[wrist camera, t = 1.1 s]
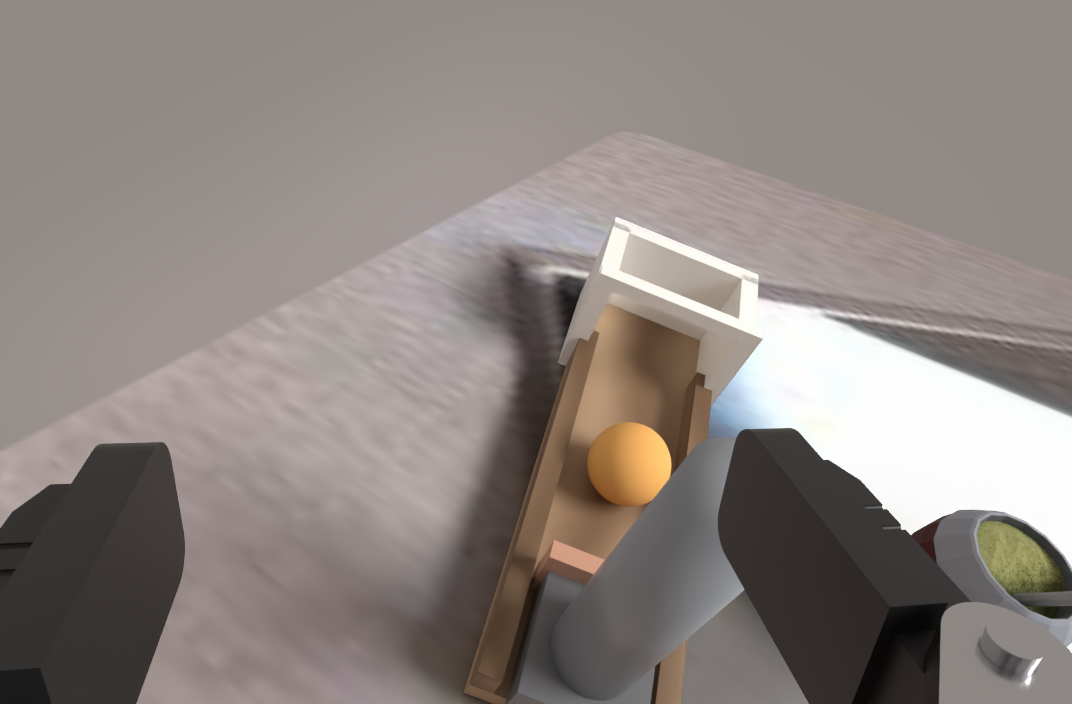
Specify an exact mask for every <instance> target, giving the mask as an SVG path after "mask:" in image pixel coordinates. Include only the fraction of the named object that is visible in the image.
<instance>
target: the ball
mask: <svg viewBox="0 0 1072 704" xmlns="http://www.w3.org/2000/svg"><path fill="white" fill-rule="evenodd" d="M587 468H588V473H589V477H590V480H591V482H592V484H593V486H594V487H595V489H596V490H597V491H598V492H599V494H601V495H602V496H603V497H604V498H605V499H607V500H608V501H610V502H612V503H614V504H617V505H621V506H628V507H631V506H639V505H643V504H646V503H648V502H650V501H652V500H653V499H654V497H655V496H656V495H657V494H658V492H659V491H660V490H661V489H662V487H663V486H664V485H665V484H666V482H667V481H668V480H669V478H670V473H671V457H670V453H669V450H668V447H667V445H666V444H665V442H664V441H663V439H662V438H661V437H660V436H659V435H658V434H657V433H656V432H655V431H654V430H652V429H651V428H649V427H647V426H645V425H642V424H639V423H634V422H624V423H618V424H615V425H612V426H610V427H608V428H607V429H605V430H604V431H602V432H601V433H600V434H599V435H598V436H597V438H596V439H595V440H594V442H593V443H592V445H591V447H590V450H589V454H588V459H587Z"/></svg>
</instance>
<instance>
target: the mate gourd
mask: <svg viewBox="0 0 1072 704" xmlns="http://www.w3.org/2000/svg"><path fill="white" fill-rule="evenodd" d="M911 536H912V537H913V539H914V540H915V541H916V542H917V543H918V544H919V545H920V546H921V547H922V548H923V549H924V551H925V552H926V553H927V554H928V555H929V556H930V557H931V558H932V559H933V560H934V561H935V563H936V564H937V565H938V566H939V567H940V568H941V569H942V570H943V571H944V572H945V573H946V574H947V576H948V577H949V578H950V579H951V580H952V581H953V582H954V583H955V584H956V585H957V586H958V588H959V589H960V590H961V591H962V592H963V593H964V594H965V595H966V596H967V597H968V598H969V600H970V601H971V602H980V603H987V604H992V605H996V606H999V607H1002V608H1006V609H1008V610H1011V611H1013V612H1016V613H1018V614H1020V615H1022V616H1024V617H1026V618H1028V619H1030V620H1032V621H1033V622H1035V623H1037V624H1038V625H1040V626H1042V627H1043V628H1044V629H1046V630H1047V631H1048V632H1050V633H1051V634H1053V635H1054V636H1055V637H1056V638H1057V639H1058V640H1059V641H1061V642H1062V643H1063V644H1064V645H1065V646H1066V647H1067V646H1068V645H1069V644H1070V643H1072V568H1071V566H1070V564H1069V563H1068V561H1067V560H1066V558H1065V556H1064V555H1063V554H1062V553H1061V552H1060V551H1059V550H1058V549H1057V547H1056V546H1055V545H1054V544H1053V543H1052V542H1051V541H1050V540H1049V539H1048V538H1047V537H1046V536H1045V535H1044V534H1042V533H1041V532H1039V531H1038V530H1037V529H1035V528H1034V527H1032V526H1031V525H1030V524H1028V523H1027V522H1025V521H1023V520H1021V519H1018V518H1016V517H1014V516H1011V515H1009V514H1006V513H1004V512H997V511H985V510H959V511H956V512H955V513H953V514H950V515H947V516H943V517H941V518H939V519H937V520H936V521H934V522H932V523H930V524H928V525H927V526H925V527H923V528H921V529H920V530H918V531H916V532H914V533H913V534H912V535H911Z"/></svg>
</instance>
